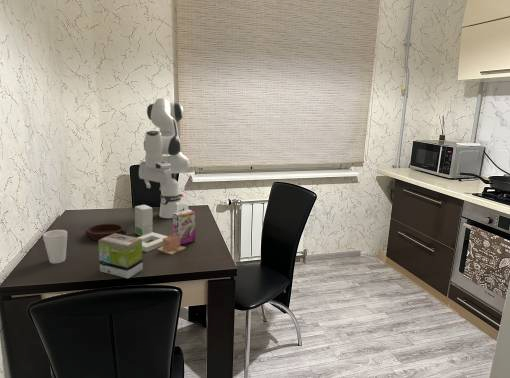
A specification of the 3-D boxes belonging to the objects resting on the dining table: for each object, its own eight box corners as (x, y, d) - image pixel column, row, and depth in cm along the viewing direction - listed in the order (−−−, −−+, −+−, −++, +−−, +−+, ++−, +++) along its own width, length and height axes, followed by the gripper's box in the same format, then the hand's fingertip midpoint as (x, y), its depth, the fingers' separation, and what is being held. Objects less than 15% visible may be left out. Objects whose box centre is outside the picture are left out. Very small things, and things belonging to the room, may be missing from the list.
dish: (120, 243, 186) (120, 234, 185) (77, 242, 186) (76, 233, 184) (131, 232, 203) (131, 223, 202) (92, 231, 203) (91, 222, 201)
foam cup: (66, 263, 160) (64, 236, 157) (43, 265, 157) (40, 237, 154) (71, 255, 169) (68, 229, 166) (48, 257, 166) (46, 230, 163)
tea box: (99, 272, 152) (97, 239, 149) (116, 263, 162) (114, 232, 158) (128, 279, 147) (126, 245, 144) (143, 269, 157) (142, 237, 153)
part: (172, 245, 184) (172, 234, 183) (179, 246, 181) (179, 236, 180) (162, 249, 178) (162, 238, 177) (169, 251, 176) (169, 240, 174)
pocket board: (152, 236, 196) (152, 232, 196) (171, 241, 190) (171, 237, 189) (127, 245, 182) (127, 241, 182) (146, 252, 175) (146, 247, 175)
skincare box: (134, 233, 201) (133, 206, 197) (145, 230, 206) (144, 204, 202) (142, 237, 195) (141, 209, 192) (153, 234, 200) (152, 207, 197)
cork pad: (171, 244, 186) (171, 243, 186) (185, 248, 181) (185, 247, 181) (156, 250, 178) (156, 249, 178) (171, 254, 173) (171, 253, 173)
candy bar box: (177, 246, 184) (177, 215, 180) (172, 243, 187) (172, 213, 184) (196, 241, 192) (195, 211, 188) (190, 238, 195) (190, 209, 192)
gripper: (135, 161, 187) (136, 187, 190) (164, 166, 177) (165, 193, 180) (144, 160, 192) (145, 185, 196) (173, 164, 182) (173, 191, 186)
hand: (155, 189), depth 188 cm, fingers open, 8 cm apart
